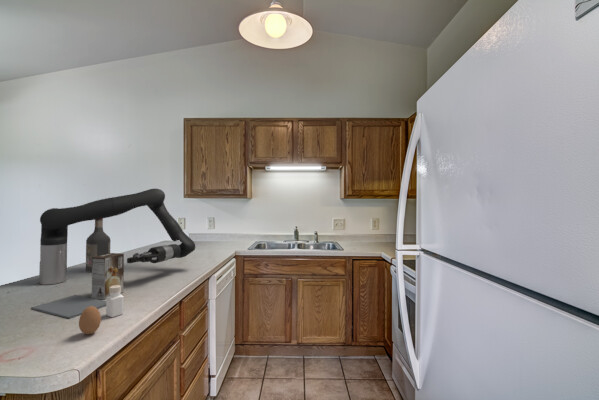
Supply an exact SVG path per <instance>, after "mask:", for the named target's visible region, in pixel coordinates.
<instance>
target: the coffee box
mask: <svg viewBox="0 0 599 400" xmlns="http://www.w3.org/2000/svg"><path fill="white" fill-rule="evenodd" d="M124 256H125V254H124V253H116V252H110V253H109V254H105V255H100V256H96V257H92V272H91V298H92V299H97V300H106V298H107V297H108V296H110V293H109V292H110V287H111V286H115V285H120V286H121V292H120V294H122V293H124V289H125V287H124V285H125V284H124V282H125V281H124V276H125V275H124V274H125V270H124V269H125V264H124V263H125V262H124V261H125V257H124Z"/></svg>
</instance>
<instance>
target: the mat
mask: <svg viewBox="0 0 599 400" xmlns="http://www.w3.org/2000/svg"><path fill="white" fill-rule="evenodd" d="M89 306H93V307H96V308H97V309H98V310H99V309H102V308H105V307H106V300H103V299H95V298H92V297H87V296H83V295H82V296H81V295H77V294H73V295H70V296H66V297H63V298H59V299H55V300H52V301H48V302H45V303H41V304H38V305H35V306H31V307H30V308H31V310H34V311H38V312H43V313H46V314H49V315H54V316H57V317H59V318H63V319H69V320H70V319H73V318H76V317H80V316H81V314H82V312H83V311H84V310H85V309H86V308H87V307H89Z"/></svg>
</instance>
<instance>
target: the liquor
mask: <svg viewBox="0 0 599 400" xmlns="http://www.w3.org/2000/svg"><path fill="white" fill-rule="evenodd" d="M103 223H104V218H102V219H96V220H94V229H93V230H94V231H93V232H92V233H91V234H89V236H88V237H87V238H86V241H85V271H86V272H88V273H92V257H96V256H100V255H105V254H109V253H111V237H110V236H109V235H108V234H106V232H105V231H104V226H103Z"/></svg>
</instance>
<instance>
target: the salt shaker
mask: <svg viewBox="0 0 599 400" xmlns="http://www.w3.org/2000/svg"><path fill="white" fill-rule="evenodd" d="M120 292H121V286H120V285H115V286H111V287H110V292H109V293H110V296H108V297H107V298H106V299H105V301H106V306H105V314H106V316H108V317H110V318H116V317H118V316H121V315H123V314H124V297H125V296H124V295H122V293H120Z"/></svg>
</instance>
